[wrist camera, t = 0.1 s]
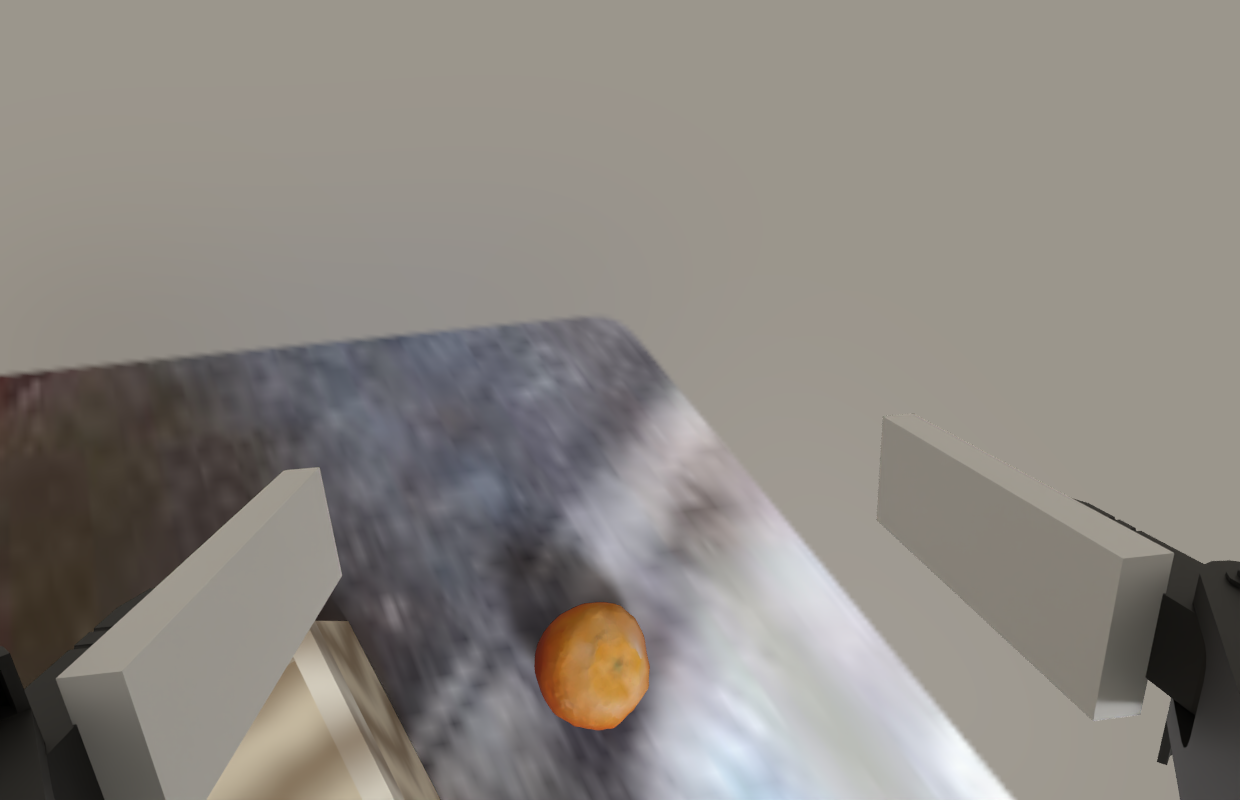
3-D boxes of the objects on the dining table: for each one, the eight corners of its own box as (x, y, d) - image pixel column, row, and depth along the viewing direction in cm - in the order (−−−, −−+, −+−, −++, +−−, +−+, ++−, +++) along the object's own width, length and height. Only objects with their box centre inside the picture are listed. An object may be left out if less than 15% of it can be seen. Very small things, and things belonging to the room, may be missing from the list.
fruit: (520, 593, 46) (573, 596, 40) (609, 605, 50) (670, 609, 44) (501, 713, 44) (556, 737, 37) (597, 716, 48) (661, 737, 41)
